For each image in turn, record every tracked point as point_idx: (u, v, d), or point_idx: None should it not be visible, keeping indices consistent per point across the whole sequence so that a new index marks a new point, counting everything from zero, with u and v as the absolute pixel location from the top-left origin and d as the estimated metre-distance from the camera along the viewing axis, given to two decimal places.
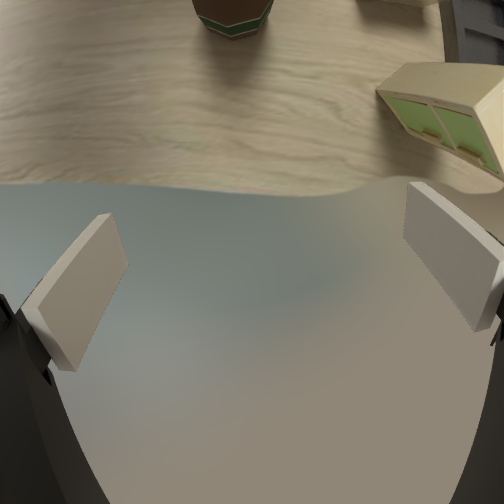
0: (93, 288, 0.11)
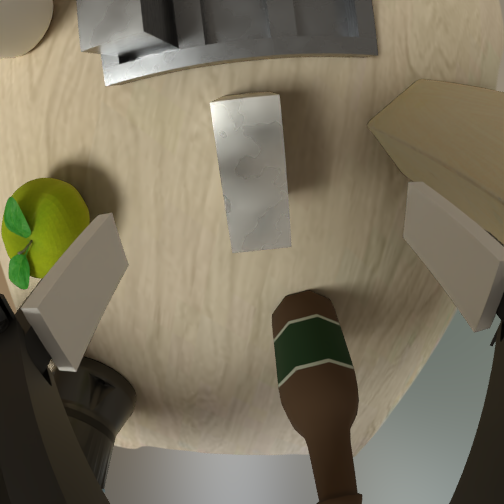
0: (93, 288, 0.11)
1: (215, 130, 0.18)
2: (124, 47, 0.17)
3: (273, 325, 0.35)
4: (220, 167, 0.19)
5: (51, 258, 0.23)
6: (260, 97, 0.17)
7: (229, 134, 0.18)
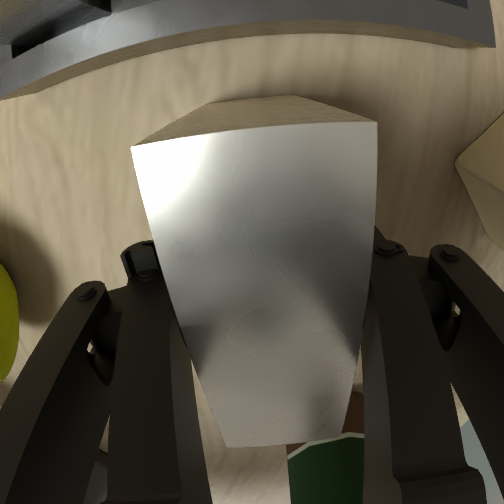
0: None
1: (158, 239, 0.06)
2: None
3: None
4: (185, 333, 0.07)
5: None
6: (312, 127, 0.05)
7: (204, 253, 0.06)
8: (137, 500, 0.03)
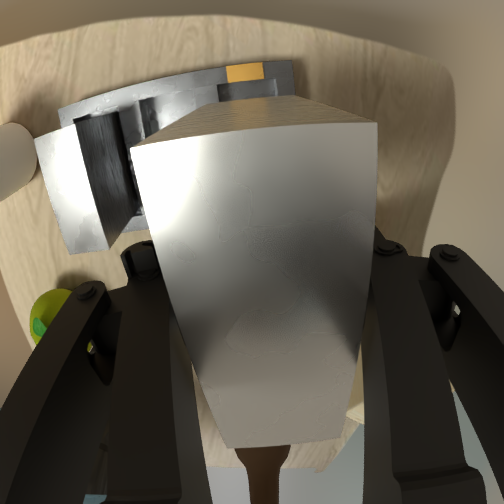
0: None
1: (158, 240, 0.06)
2: None
3: None
4: (185, 334, 0.07)
5: None
6: (312, 128, 0.05)
7: (204, 254, 0.06)
8: (137, 500, 0.03)
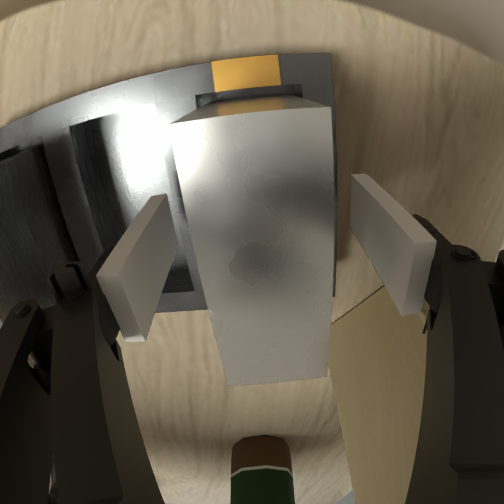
0: (156, 262, 0.12)
1: (184, 187, 0.08)
2: None
3: (232, 460, 0.34)
4: (199, 263, 0.09)
5: None
6: (287, 111, 0.07)
7: (215, 197, 0.08)
8: None
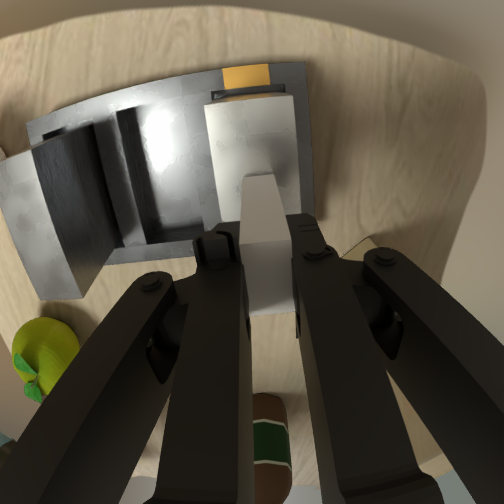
0: None
1: (211, 140, 0.14)
2: None
3: None
4: (217, 187, 0.15)
5: None
6: (268, 98, 0.13)
7: (229, 146, 0.14)
8: (188, 501, 0.03)
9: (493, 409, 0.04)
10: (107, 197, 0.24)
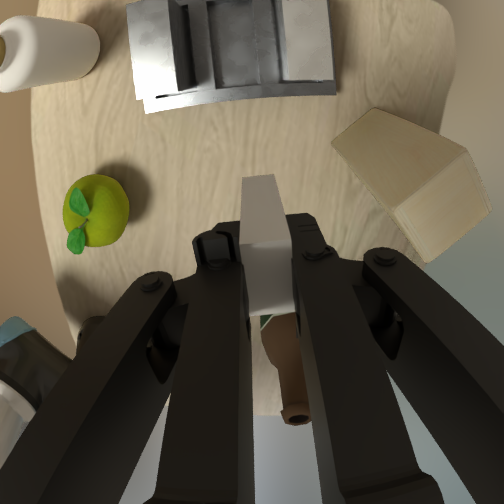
0: None
1: None
2: None
3: None
4: (284, 18, 0.22)
5: (102, 232, 0.36)
6: None
7: None
8: (188, 501, 0.03)
9: (493, 409, 0.04)
10: (189, 56, 0.30)
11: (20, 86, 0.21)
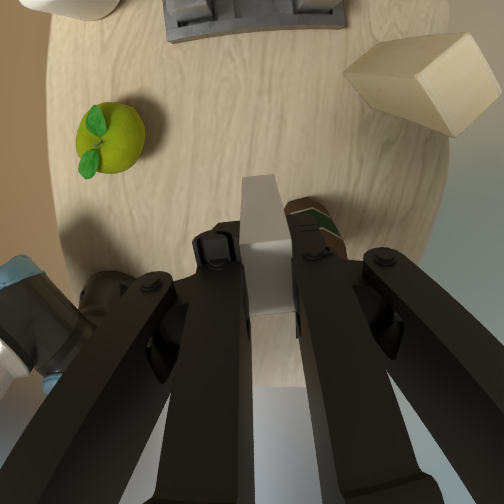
0: None
1: None
2: (188, 14, 0.27)
3: None
4: None
5: (118, 151, 0.34)
6: None
7: None
8: (188, 501, 0.03)
9: (493, 409, 0.04)
10: None
11: (54, 1, 0.19)
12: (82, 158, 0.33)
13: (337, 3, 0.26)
